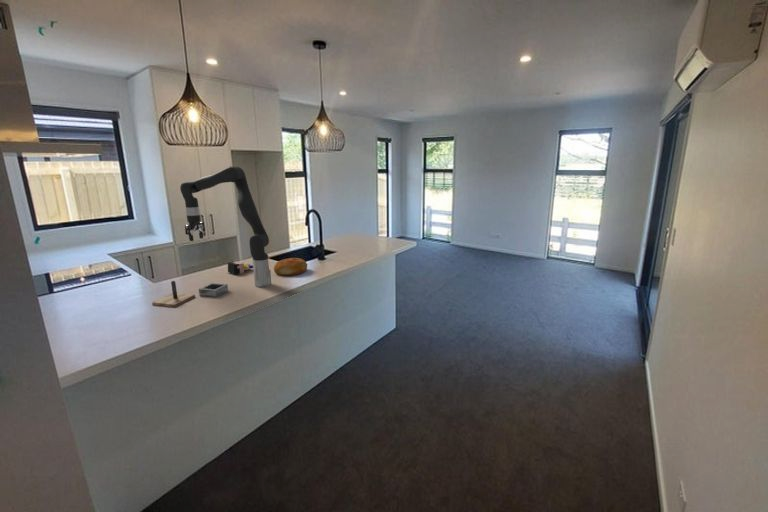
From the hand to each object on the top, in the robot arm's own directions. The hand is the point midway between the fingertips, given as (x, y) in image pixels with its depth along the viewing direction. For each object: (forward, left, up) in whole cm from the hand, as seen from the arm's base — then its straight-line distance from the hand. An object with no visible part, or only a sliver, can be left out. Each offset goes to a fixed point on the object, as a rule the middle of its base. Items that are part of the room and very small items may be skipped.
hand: (196, 239), depth 218 cm
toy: (-12, -24, -28) cm, 39 cm away
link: (-23, +18, -28) cm, 40 cm away
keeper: (-10, +33, -28) cm, 44 cm away
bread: (-48, -32, -28) cm, 64 cm away
